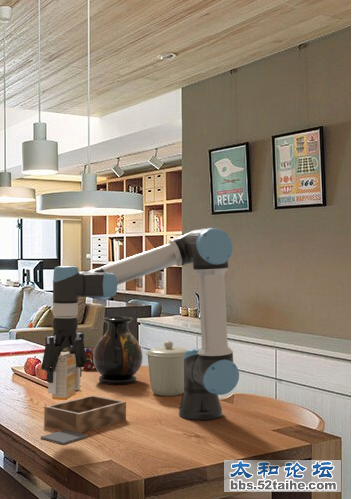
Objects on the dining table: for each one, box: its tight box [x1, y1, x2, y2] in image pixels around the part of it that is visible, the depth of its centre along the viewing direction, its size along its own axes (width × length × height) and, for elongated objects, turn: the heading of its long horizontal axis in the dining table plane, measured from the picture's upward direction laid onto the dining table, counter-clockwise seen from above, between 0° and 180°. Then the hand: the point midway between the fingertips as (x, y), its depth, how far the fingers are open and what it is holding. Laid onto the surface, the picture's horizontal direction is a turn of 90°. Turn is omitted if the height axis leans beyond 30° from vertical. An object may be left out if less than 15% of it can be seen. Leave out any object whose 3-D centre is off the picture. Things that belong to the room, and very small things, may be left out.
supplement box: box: [51, 352, 77, 401], centre depth 198 cm, size 8×5×13 cm, turn 168°
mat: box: [40, 429, 89, 445], centre depth 198 cm, size 10×10×1 cm
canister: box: [145, 340, 187, 397], centre depth 262 cm, size 18×18×21 cm
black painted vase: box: [93, 315, 143, 386], centre depth 285 cm, size 22×22×28 cm
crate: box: [43, 394, 127, 434], centre depth 217 cm, size 22×16×6 cm
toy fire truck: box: [82, 347, 95, 371], centre depth 316 cm, size 7×12×10 cm, turn 110°
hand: (64, 390), depth 198 cm, fingers closed on supplement box, 9 cm apart
